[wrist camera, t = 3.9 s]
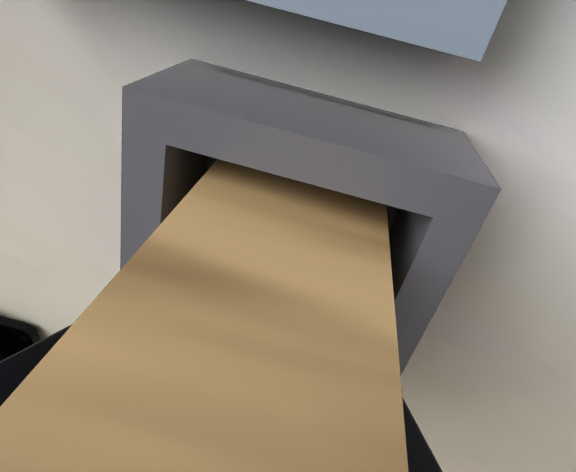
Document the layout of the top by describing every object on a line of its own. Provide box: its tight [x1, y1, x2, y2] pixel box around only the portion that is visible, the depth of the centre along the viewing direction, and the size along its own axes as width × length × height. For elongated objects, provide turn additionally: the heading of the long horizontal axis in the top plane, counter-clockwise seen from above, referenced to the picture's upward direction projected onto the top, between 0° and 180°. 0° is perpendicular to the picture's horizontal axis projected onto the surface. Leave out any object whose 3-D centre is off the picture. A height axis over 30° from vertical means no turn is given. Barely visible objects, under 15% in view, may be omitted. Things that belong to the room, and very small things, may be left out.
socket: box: [120, 59, 501, 376], centre depth 12 cm, size 8×8×4 cm
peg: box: [0, 159, 408, 472], centre depth 8 cm, size 4×4×11 cm
